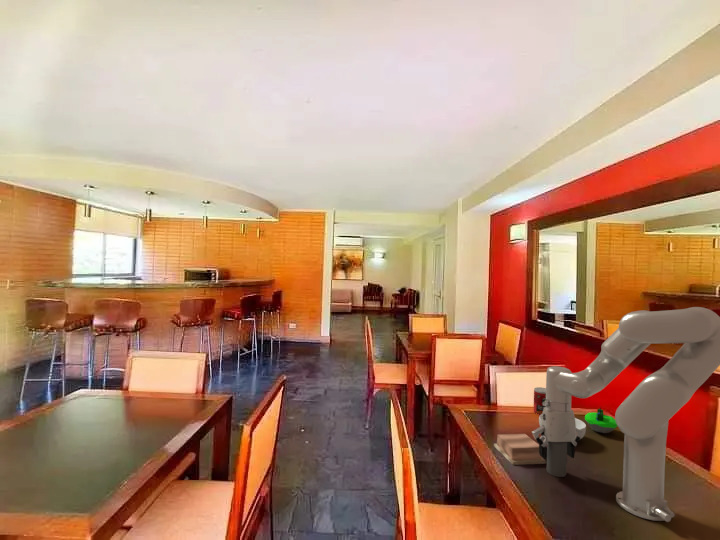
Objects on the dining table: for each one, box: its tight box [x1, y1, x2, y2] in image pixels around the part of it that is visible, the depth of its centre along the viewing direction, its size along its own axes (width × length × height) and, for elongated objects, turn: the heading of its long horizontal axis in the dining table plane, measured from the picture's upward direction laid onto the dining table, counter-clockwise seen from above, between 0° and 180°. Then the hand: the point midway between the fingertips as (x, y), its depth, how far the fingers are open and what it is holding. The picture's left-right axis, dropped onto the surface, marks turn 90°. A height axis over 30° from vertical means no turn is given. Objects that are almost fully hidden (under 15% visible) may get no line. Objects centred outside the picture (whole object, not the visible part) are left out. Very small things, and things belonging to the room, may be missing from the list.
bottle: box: [546, 442, 568, 478], centre depth 130 cm, size 6×6×15 cm
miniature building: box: [584, 407, 618, 434], centre depth 164 cm, size 12×12×11 cm
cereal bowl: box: [538, 414, 587, 440], centre depth 157 cm, size 17×17×7 cm
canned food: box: [533, 386, 546, 416], centre depth 184 cm, size 8×8×11 cm
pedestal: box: [493, 433, 547, 466], centre depth 142 cm, size 14×12×5 cm
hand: (556, 456), depth 130 cm, fingers open, 9 cm apart
